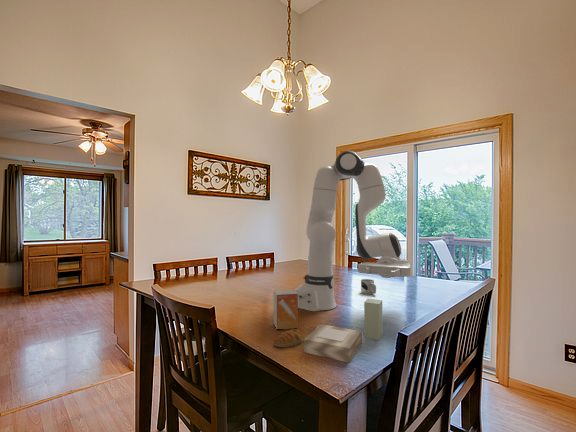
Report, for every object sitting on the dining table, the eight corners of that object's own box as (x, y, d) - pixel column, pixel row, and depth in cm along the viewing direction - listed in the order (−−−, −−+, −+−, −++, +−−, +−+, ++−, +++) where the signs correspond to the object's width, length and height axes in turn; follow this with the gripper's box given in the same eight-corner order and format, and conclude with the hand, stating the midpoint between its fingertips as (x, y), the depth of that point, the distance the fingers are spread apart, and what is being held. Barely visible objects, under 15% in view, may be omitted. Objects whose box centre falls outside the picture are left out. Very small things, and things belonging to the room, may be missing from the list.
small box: (276, 330, 108) (276, 294, 108) (273, 324, 114) (273, 290, 114) (298, 328, 110) (298, 293, 110) (294, 322, 116) (293, 289, 116)
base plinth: (304, 352, 91) (304, 338, 91) (321, 335, 103) (321, 323, 103) (349, 362, 85) (349, 347, 85) (361, 343, 97) (361, 330, 97)
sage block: (364, 337, 102) (364, 302, 102) (367, 332, 106) (367, 298, 106) (379, 340, 100) (379, 304, 100) (382, 334, 104) (382, 300, 104)
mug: (358, 292, 163) (358, 279, 163) (368, 290, 165) (368, 278, 165) (370, 296, 153) (370, 283, 153) (380, 295, 156) (380, 282, 156)
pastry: (282, 351, 92) (282, 339, 92) (268, 345, 97) (268, 333, 97) (304, 343, 98) (304, 331, 98) (290, 337, 103) (290, 325, 103)
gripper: (362, 257, 131) (353, 262, 119) (412, 260, 121) (408, 266, 109) (362, 272, 131) (353, 278, 119) (412, 276, 121) (409, 283, 109)
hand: (380, 272), depth 114 cm, fingers open, 8 cm apart
